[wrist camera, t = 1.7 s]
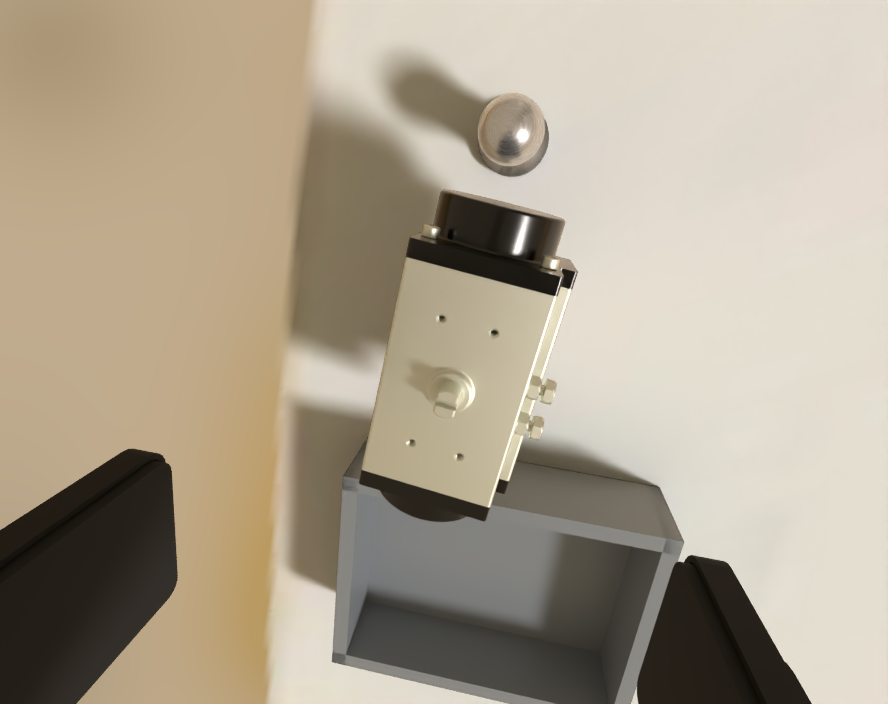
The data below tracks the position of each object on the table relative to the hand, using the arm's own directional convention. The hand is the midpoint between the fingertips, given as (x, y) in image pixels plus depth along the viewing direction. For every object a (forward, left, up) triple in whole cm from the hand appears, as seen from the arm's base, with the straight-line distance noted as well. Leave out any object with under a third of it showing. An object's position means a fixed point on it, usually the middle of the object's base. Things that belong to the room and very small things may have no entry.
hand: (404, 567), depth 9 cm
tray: (+14, +3, -18) cm, 23 cm away
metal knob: (-9, 0, -18) cm, 20 cm away
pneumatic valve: (0, 0, -19) cm, 19 cm away
